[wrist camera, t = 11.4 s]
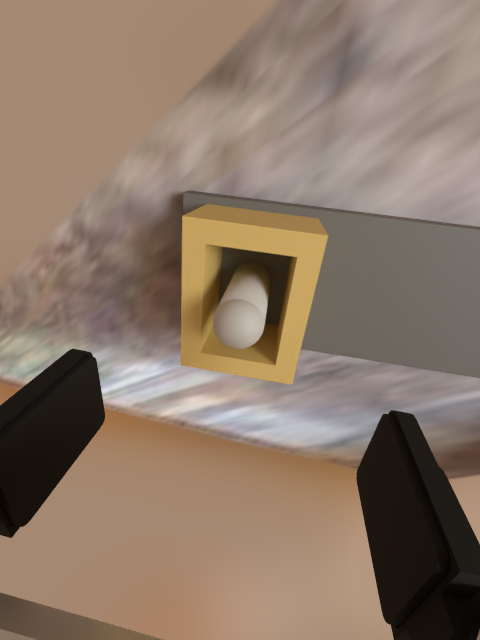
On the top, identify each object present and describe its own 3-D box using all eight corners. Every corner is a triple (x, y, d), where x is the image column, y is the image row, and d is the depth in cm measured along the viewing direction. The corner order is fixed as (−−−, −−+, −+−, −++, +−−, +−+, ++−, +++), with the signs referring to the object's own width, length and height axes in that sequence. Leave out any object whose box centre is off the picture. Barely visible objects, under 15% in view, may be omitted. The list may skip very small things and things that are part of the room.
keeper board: (572, 238, 18) (809, 300, 10) (490, 369, 23) (602, 483, 15) (190, 190, 20) (122, 208, 12) (187, 320, 25) (138, 397, 16)
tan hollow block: (318, 218, 18) (328, 235, 14) (291, 341, 22) (291, 384, 18) (207, 203, 19) (182, 215, 14) (201, 326, 23) (180, 365, 19)
